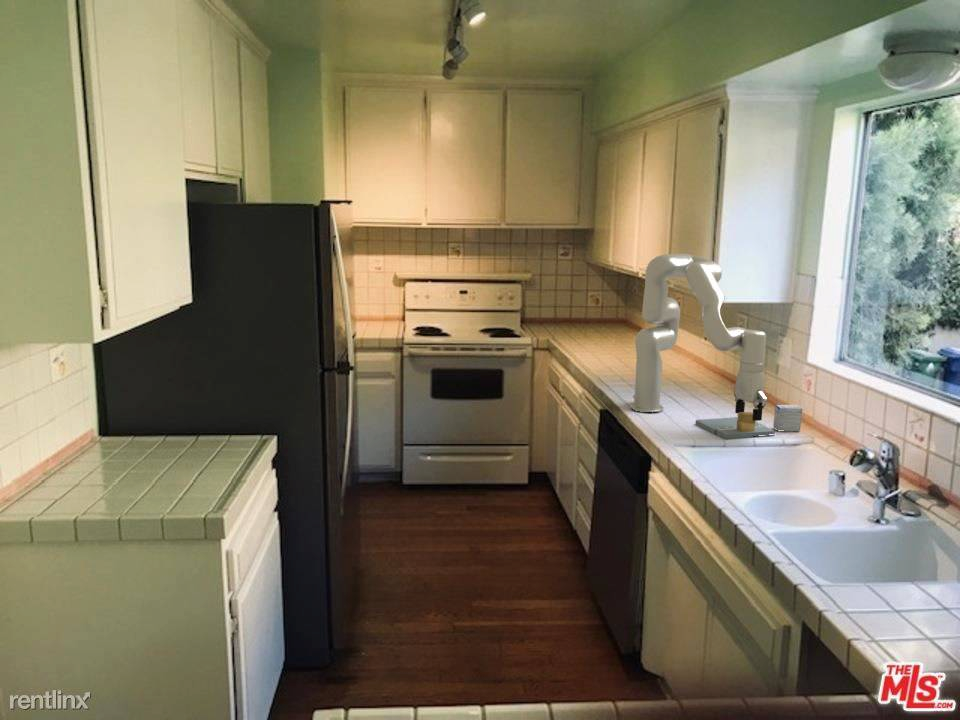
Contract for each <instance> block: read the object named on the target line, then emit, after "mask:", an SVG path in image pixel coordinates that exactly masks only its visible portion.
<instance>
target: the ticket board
mask: <svg viewBox="0 0 960 720" xmlns="http://www.w3.org/2000/svg"><path fill="white" fill-rule="evenodd" d="M737 418H738V416H736V417H735V416H734V417H721V418H704V419H703V418H702V419H696V420H695V425H696V426H698V427H700V428H702V429H704V430H706V431H707V432H709V433H711V434H713V435H717V434H716V430H717V429H732V428H737ZM761 426H765V425H764V424H761V423H759V422H757V421H755V427H761Z"/></svg>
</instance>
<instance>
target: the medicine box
mask: <svg viewBox="0 0 960 720" xmlns="http://www.w3.org/2000/svg"><path fill="white" fill-rule="evenodd" d="M802 416H803V407H801V406H800V405H797V404H776V405H775V407H774V416H773V426H772V427H774V428H776V429H777V430H784V431H800V432H801V427H802V426H801V424H802ZM774 428H773V429H774Z"/></svg>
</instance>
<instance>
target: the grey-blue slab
mask: <svg viewBox="0 0 960 720" xmlns="http://www.w3.org/2000/svg"><path fill="white" fill-rule="evenodd" d="M737 417H738V418H737V428H732V429H717V430H716V434H715V435H717V436H719V437H720V438H722V439H724V440H728V439H729V440H731V439H743V437H746V438H754V437H753V436H759V435H769V434H774V435H775V431H776V430H775V429H771V428H769V427H767V426H766V425H764V426H761V427H755V422H756V421H753V420H752V417H753V411H744V412H739V413H737Z"/></svg>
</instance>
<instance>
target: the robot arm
mask: <svg viewBox="0 0 960 720" xmlns="http://www.w3.org/2000/svg"><path fill="white" fill-rule="evenodd" d="M644 273H645V277H644V278H645V280H644V282H645V283H644V292H643V293H644V294H643V302H642V310H641V311H642V312H641V314H642V315H641V316H642V319H643V321H644V322H645V323H647V324H649V325H656V326H649V327H645V328H643V329H640V331H638V333H637V334H636V336H635V340H634V341H635V342H634V343H635V344H634V345H635V350H636V354H635V355H636V361H635V362H636V363H635V365H636V366H635V381H634V383H635V384H634V385H635V386H634V395H632V398H633V400H634V401H633V402H631V403H629V409H630V410H632V409H633V410H632V411H634V410H637V411H640V412H639V413H643V412H652V413H651V414H654V413H653V412H658V413H661V411H662V412H663V411H664V406H663V405H662V404H660V403H661V389H662V375H663V374H662V373H663V371H662V370H663V360H662V357H661V352H663V351H667V350H670V349H672V348H673V347H675V345H676V343H677V341H678V340H677V339H678V337H679V336H678V334H679V327H680V318H681V309H680V305H679V303H678V302H677V300H675V298H673V297H668V295H669V294H668V293H669V285H668V281H667V279H672V278H685V279H686V281H687V283H688V285H689V287H690V289H691V290H692V292H693V294H694V296H695V297H696V299H697V302H698V304H699V305H700V307H701V318H702V319H701V320H702V326H703V330H704V333H705V334H706V337H708V340H709V342H710V343H711V345H713V347H714V348H715V349H716V350H718V351H721V352H728V351H733V350H740V358H739V359H740V360H739V361H740V363H739V369H738V372H737V375H736V380H735V386H734V387H733V393H734V394H733V395H734V401H735V414H738V413H739V412H745V408H746V407H745V406H746V405H745V404H746V403H749V404H750V403H752V406H753V407H754V408H753V409H752V412H753V417H752V420H753V421H755V422H757V421H762V419H763V410H764V408H765V406H766V404H767V401H768V398H767V397H766V395H765V377H764V376H765V375H764V369H765V355H766V345H767V342H766V341H767V334H766V332H765V331H762V330H757V329H756V330H755V329H747V328H746V327H745V328H744V327H741V326H733V327H726V325H725V323H724V322H723V319H722V317H721V307H722V304H724V302H725V300H726V296H725V294H724V292H723V290H722V289H721V286H720V285H719V282H720V280H721V279H722V275H723V274H722V269H721V266H720V265H719V264H718V263H717V262H715V261H713V260H710V259H706V258H703V257H700V256H697V255H693V254H689V253H671V254H670V253H668V254H667V253H666V254H662V255H657V256H656V257H654V258H652V259H651V260H650V261H649V262H648V263H647V266H646V269H645V272H644ZM637 411H636V412H637Z"/></svg>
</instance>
